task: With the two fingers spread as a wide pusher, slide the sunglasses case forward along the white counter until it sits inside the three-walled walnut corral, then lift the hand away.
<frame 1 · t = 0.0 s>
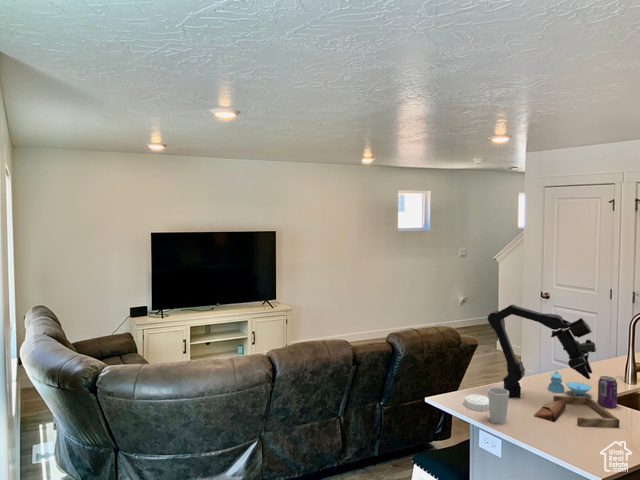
hand: (590, 376, 199), 15 cm above the counter, tool tilted 35°, fingers open, 9 cm apart
sunglasses case: (549, 414, 197), on the counter
beverage can: (607, 405, 206), on the counter
mooncake: (478, 406, 205), on the counter
cup: (498, 420, 190), on the counter
corral: (582, 414, 196), on the counter
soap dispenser: (569, 393, 221), on the counter
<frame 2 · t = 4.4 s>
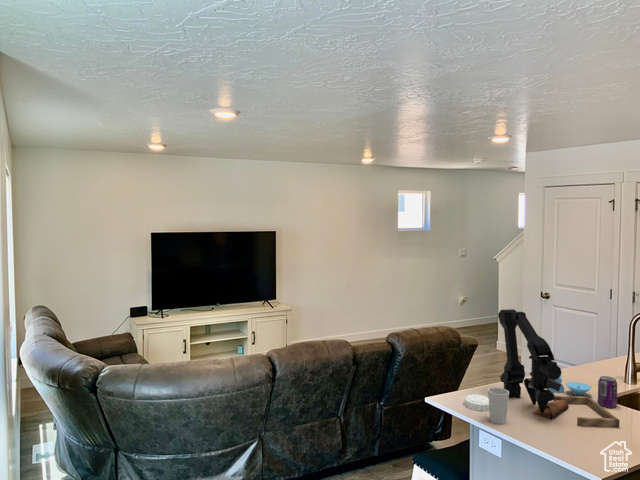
hand: (538, 408, 198), 2 cm above the counter, tool pointing down, fingers open, 9 cm apart
sunglasses case: (550, 413, 199), on the counter, touching gripper
everything else where it was.
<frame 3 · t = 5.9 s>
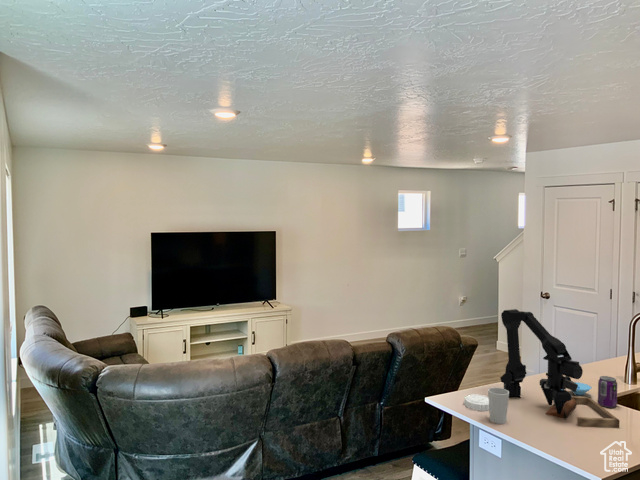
hand: (554, 409, 197), 2 cm above the counter, tool pointing down, fingers open, 9 cm apart
sunglasses case: (561, 412, 200), on the counter, touching corral
everything else where it was.
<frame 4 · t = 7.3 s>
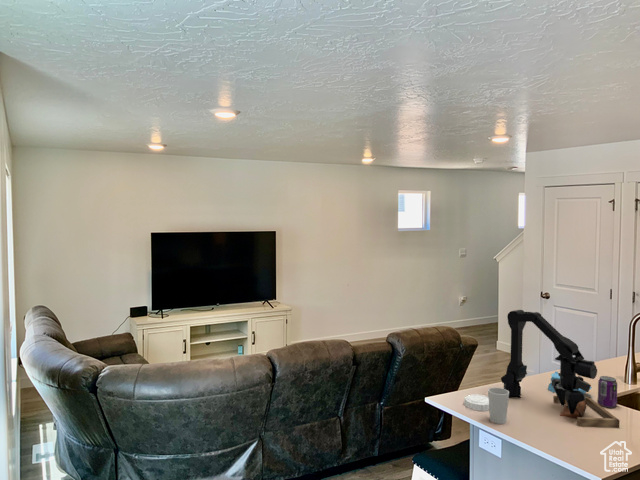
hand: (567, 409, 196), 2 cm above the counter, tool pointing down, fingers open, 9 cm apart
sunglasses case: (573, 413, 199), on the counter
everything else where it was.
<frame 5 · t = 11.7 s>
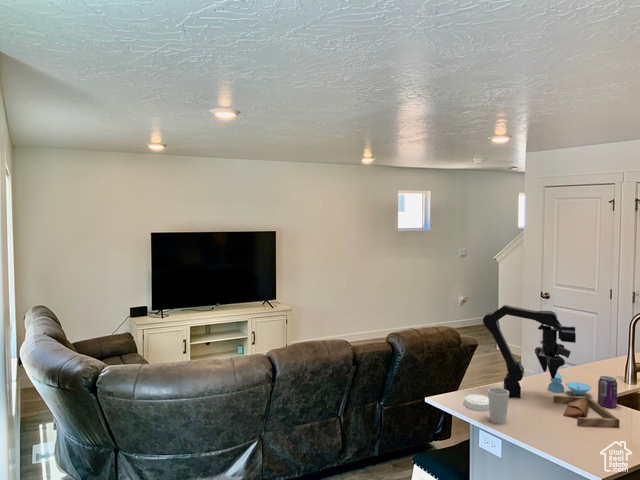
hand: (548, 374, 209), 12 cm above the counter, tool pointing down, fingers open, 9 cm apart
sunglasses case: (576, 412, 199), on the counter
everything else where it was.
at the end: sunglasses case inside the target area (3.7 cm from its centre), on the counter; sunglasses case moved 11.9 cm from its start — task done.
